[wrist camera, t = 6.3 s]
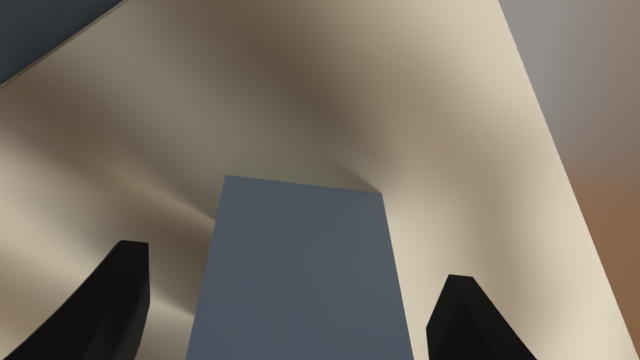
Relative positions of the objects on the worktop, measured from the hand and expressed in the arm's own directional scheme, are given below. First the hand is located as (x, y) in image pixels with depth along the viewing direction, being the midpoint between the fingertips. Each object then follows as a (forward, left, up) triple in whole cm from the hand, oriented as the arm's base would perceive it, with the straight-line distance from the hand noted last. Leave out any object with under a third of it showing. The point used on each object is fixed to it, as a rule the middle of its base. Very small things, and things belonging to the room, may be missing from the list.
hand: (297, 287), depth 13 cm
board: (-4, -6, -4) cm, 8 cm away
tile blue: (0, 0, -3) cm, 3 cm away
